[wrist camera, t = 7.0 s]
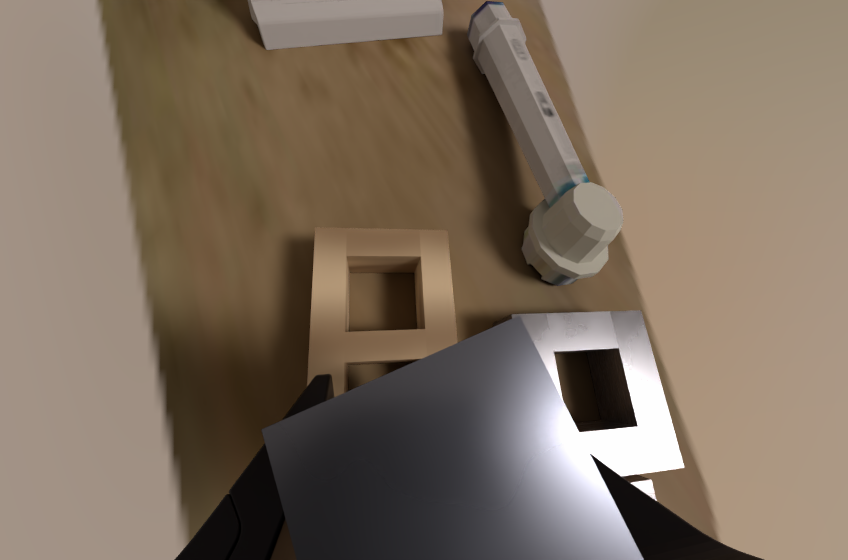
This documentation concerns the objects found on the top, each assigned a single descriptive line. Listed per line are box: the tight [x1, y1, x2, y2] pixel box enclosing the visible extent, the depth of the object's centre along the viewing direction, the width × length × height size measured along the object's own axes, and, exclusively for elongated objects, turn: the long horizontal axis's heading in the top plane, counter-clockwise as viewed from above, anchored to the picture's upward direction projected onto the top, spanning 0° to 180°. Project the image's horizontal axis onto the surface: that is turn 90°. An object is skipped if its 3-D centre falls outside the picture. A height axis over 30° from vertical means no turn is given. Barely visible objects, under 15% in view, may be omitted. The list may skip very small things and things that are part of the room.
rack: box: [307, 227, 458, 397], centre depth 18 cm, size 14×8×3 cm, turn 3°
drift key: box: [622, 474, 656, 500], centre depth 18 cm, size 7×2×1 cm, turn 3°
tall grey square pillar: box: [261, 316, 644, 560], centre depth 9 cm, size 3×3×13 cm
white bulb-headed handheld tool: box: [467, 1, 623, 286], centre depth 24 cm, size 5×7×25 cm
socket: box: [493, 311, 684, 476], centre depth 19 cm, size 9×9×3 cm
